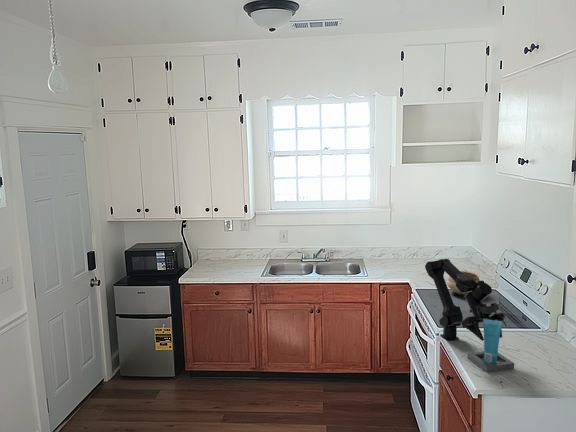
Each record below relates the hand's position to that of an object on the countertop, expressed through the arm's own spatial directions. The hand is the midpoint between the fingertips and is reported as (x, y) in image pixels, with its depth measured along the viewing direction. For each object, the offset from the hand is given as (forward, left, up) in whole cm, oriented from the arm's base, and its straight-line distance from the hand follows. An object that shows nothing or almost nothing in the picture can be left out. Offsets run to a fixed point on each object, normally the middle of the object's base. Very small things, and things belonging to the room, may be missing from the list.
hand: (492, 338), depth 202 cm
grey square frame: (0, 0, -11) cm, 11 cm away
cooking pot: (-83, +41, -11) cm, 94 cm away
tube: (-1, 0, -11) cm, 11 cm away
